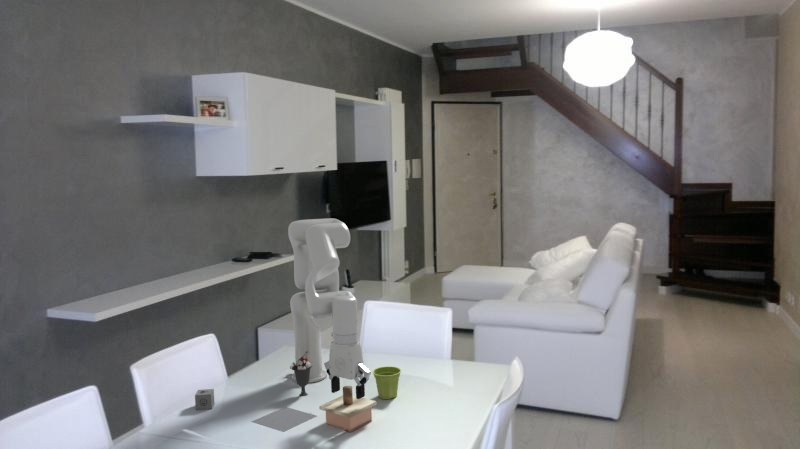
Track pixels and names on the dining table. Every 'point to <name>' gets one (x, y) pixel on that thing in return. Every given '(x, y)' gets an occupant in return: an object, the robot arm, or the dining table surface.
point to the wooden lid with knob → (347, 404)
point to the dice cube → (204, 399)
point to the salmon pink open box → (349, 420)
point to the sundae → (302, 373)
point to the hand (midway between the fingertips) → (348, 394)
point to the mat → (284, 419)
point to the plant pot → (387, 381)
